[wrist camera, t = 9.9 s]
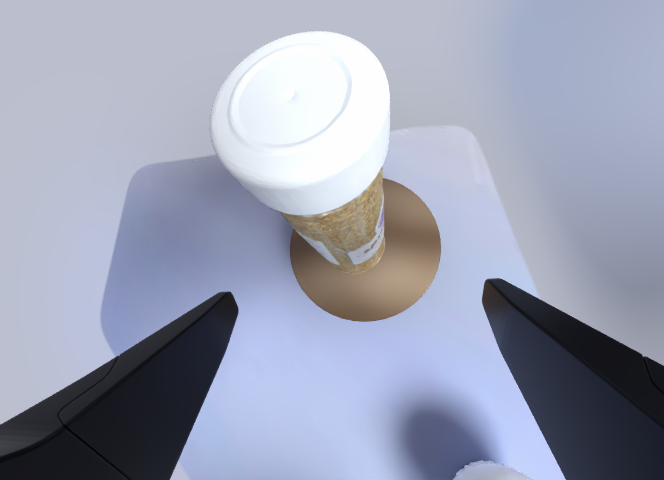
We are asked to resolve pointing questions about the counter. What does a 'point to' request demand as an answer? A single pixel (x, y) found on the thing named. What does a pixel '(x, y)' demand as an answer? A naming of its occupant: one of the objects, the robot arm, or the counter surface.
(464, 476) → the muffin
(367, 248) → the sprinkles bottle
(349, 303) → the walnut footstool
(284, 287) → the counter surface
